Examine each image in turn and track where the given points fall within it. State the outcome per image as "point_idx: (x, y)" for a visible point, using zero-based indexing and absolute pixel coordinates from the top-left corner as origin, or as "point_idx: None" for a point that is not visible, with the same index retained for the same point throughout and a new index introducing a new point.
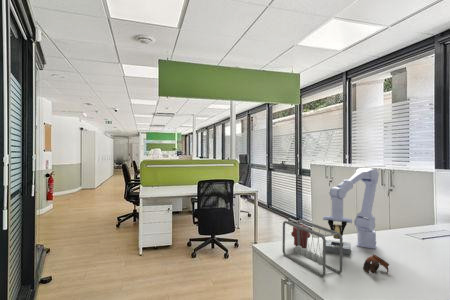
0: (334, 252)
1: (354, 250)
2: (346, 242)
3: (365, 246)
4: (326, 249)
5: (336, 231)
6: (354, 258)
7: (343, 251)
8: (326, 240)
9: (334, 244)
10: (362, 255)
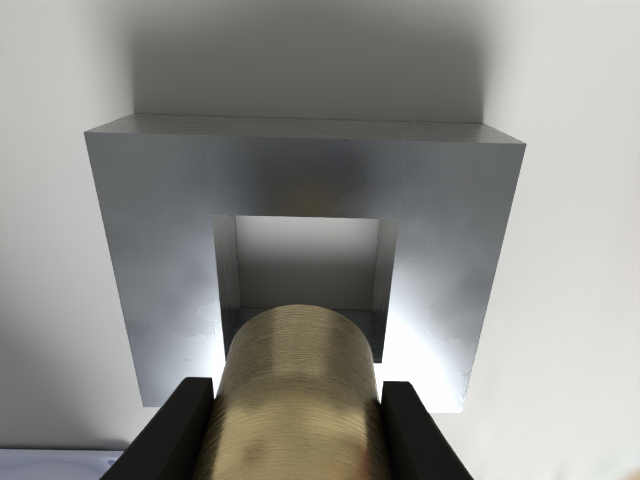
0: (336, 123)
1: None
2: None
3: (47, 457)
4: (453, 131)
5: (309, 436)
6: (63, 41)
7: (206, 123)
8: (450, 385)
9: None
10: (10, 211)
